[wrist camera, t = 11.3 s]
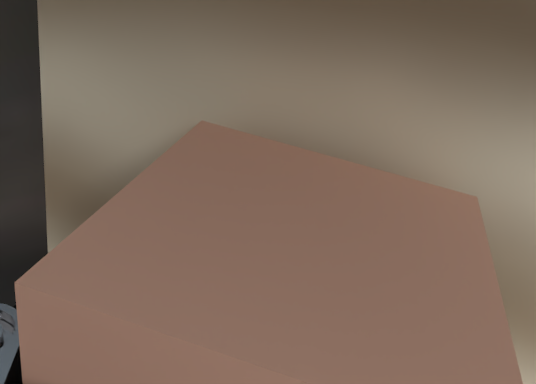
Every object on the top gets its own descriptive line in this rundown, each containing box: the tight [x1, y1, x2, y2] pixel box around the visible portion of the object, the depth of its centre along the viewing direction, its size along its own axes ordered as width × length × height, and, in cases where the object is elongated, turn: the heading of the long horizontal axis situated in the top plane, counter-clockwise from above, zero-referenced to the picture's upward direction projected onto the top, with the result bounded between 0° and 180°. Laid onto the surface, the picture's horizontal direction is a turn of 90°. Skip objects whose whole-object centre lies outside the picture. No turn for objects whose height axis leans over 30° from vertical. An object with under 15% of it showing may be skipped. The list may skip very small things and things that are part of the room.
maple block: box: [37, 0, 536, 384], centre depth 15 cm, size 15×15×4 cm
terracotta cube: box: [14, 120, 523, 384], centre depth 10 cm, size 6×6×6 cm
